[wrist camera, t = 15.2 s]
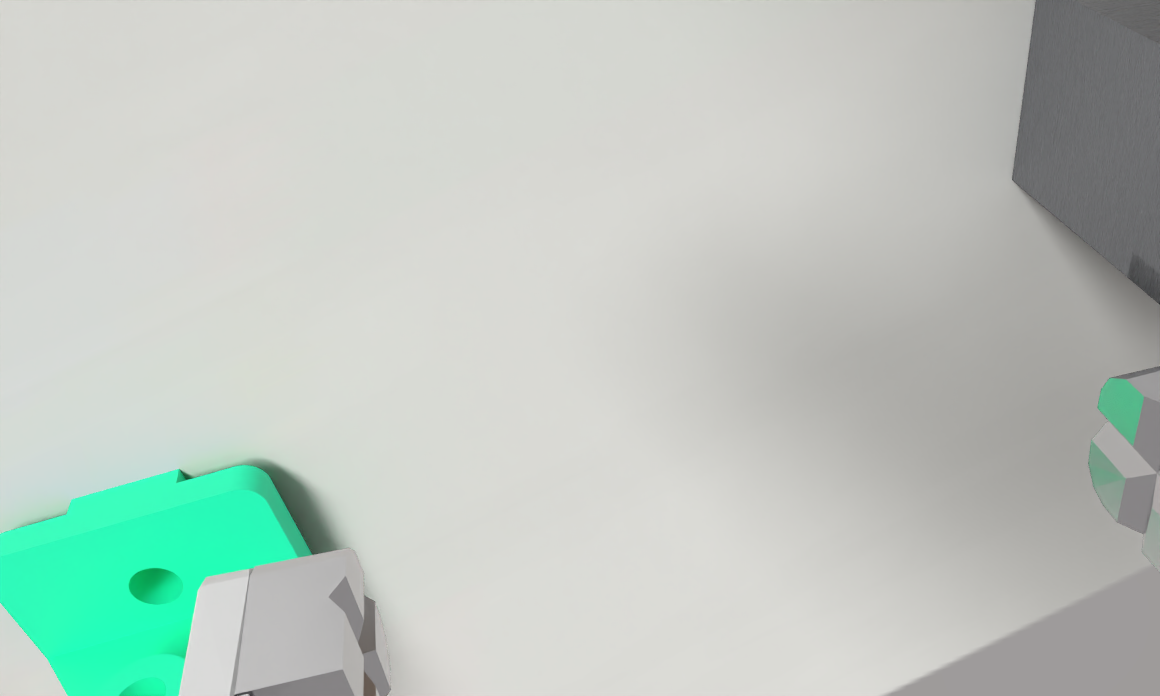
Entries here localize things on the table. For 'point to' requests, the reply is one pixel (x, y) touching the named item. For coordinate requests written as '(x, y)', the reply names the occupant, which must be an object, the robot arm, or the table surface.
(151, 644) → the camera mount
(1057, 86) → the cup bracket
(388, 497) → the table surface
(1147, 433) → the robot arm
